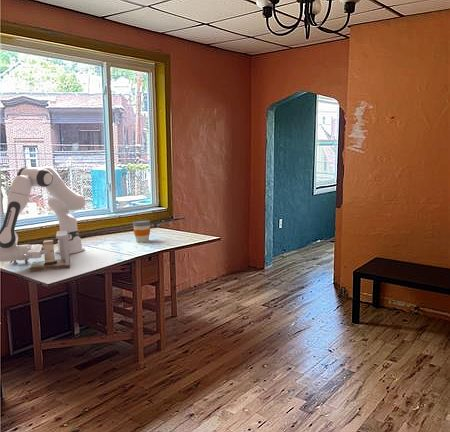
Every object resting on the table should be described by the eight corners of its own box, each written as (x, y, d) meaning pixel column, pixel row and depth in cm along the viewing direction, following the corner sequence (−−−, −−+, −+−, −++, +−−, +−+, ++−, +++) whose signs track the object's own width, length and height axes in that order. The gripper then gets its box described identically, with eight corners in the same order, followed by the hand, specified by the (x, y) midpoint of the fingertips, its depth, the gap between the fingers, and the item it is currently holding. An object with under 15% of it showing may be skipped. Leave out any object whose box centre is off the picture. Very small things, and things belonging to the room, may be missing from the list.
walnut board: (33, 265, 269) (32, 261, 269) (69, 261, 276) (69, 258, 275) (30, 272, 254) (30, 268, 254) (69, 268, 260) (69, 264, 260)
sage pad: (32, 263, 266) (32, 262, 265) (44, 262, 268) (44, 261, 268) (30, 267, 257) (30, 266, 257) (43, 265, 259) (43, 265, 259)
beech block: (45, 260, 266) (43, 240, 264) (54, 259, 267) (52, 239, 265) (45, 262, 261) (43, 242, 259) (54, 261, 262) (52, 241, 261)
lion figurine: (35, 261, 277) (34, 247, 276) (32, 263, 272) (31, 249, 271) (11, 262, 276) (9, 248, 275) (7, 265, 271) (6, 250, 270)
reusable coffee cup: (153, 239, 335) (152, 219, 332) (148, 243, 322) (147, 222, 320) (136, 239, 336) (135, 219, 334) (131, 243, 324) (130, 222, 321)
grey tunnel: (59, 259, 273) (56, 231, 271) (69, 258, 275) (67, 230, 272) (58, 265, 258) (55, 236, 256) (69, 264, 260) (66, 235, 257)
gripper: (22, 250, 249) (49, 248, 253) (26, 243, 268) (51, 241, 272) (23, 261, 250) (50, 259, 254) (27, 253, 269) (51, 251, 273)
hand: (50, 250), depth 263 cm, fingers closed on beech block, 5 cm apart
